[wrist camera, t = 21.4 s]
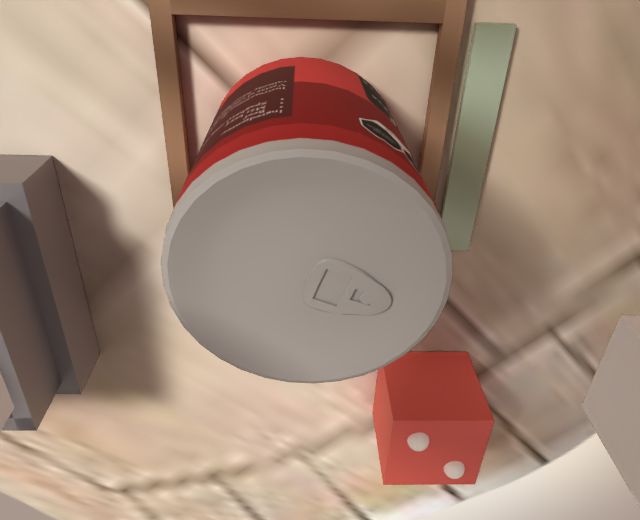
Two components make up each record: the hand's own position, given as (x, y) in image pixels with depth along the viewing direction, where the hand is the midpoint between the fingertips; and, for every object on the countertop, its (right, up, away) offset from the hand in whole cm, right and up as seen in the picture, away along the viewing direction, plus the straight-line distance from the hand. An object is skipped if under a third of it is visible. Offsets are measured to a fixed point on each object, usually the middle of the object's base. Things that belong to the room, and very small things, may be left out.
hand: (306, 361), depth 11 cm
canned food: (0, +7, +12) cm, 15 cm away
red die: (+6, -5, +20) cm, 22 cm away
